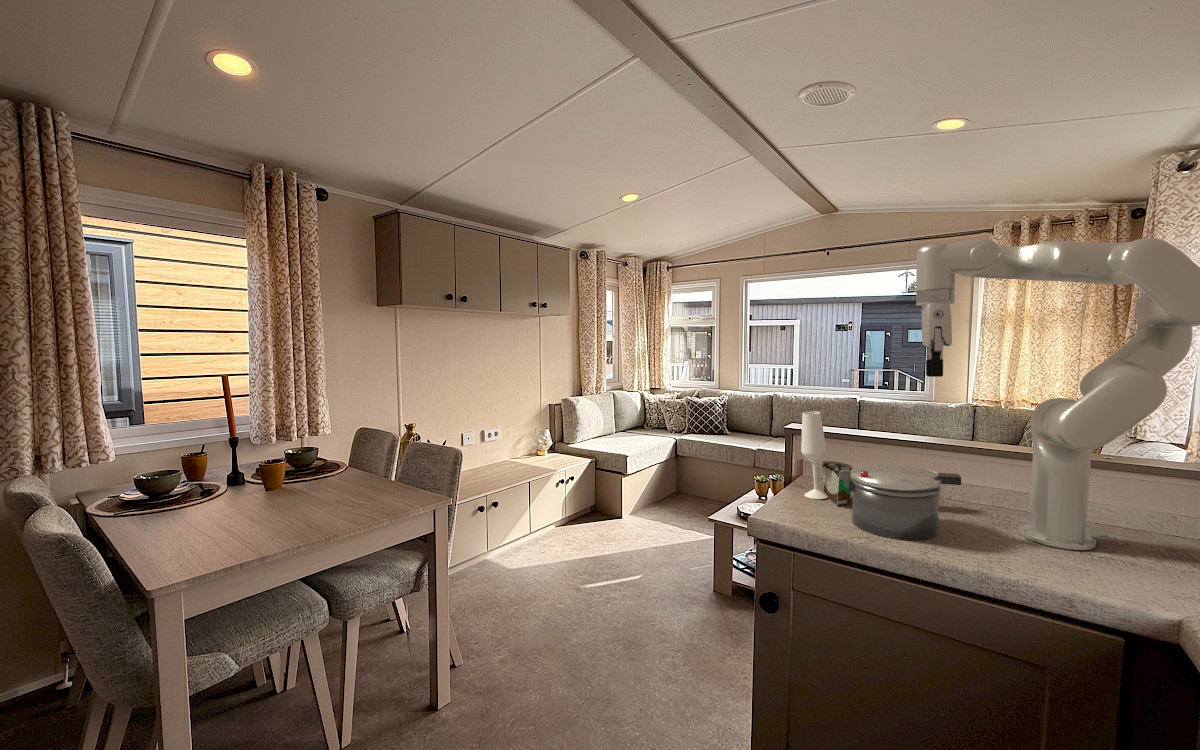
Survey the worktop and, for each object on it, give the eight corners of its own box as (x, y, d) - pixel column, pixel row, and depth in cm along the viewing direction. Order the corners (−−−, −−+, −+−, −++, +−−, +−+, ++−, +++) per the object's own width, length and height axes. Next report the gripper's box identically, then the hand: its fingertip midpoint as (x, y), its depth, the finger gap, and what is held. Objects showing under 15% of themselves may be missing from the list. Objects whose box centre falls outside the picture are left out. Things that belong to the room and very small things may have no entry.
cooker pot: (933, 518, 128) (934, 475, 127) (945, 546, 111) (947, 497, 110) (848, 508, 136) (849, 467, 135) (848, 532, 119) (849, 487, 119)
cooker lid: (952, 472, 125) (952, 463, 125) (968, 495, 108) (968, 484, 108) (850, 466, 135) (850, 458, 135) (850, 486, 118) (850, 476, 118)
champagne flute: (825, 491, 149) (820, 410, 147) (832, 498, 142) (827, 414, 141) (801, 492, 150) (796, 411, 148) (807, 499, 144) (801, 415, 142)
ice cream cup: (863, 508, 136) (863, 471, 135) (839, 508, 136) (840, 472, 135) (842, 494, 148) (843, 460, 147) (821, 494, 148) (821, 460, 147)
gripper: (960, 295, 111) (959, 379, 112) (948, 298, 124) (947, 373, 125) (920, 297, 114) (919, 379, 115) (912, 300, 127) (912, 373, 129)
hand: (934, 376), depth 120 cm, fingers closed
